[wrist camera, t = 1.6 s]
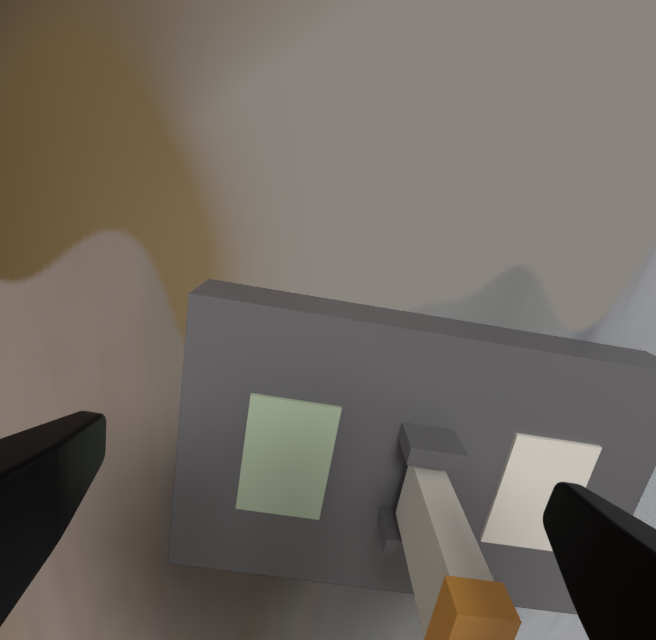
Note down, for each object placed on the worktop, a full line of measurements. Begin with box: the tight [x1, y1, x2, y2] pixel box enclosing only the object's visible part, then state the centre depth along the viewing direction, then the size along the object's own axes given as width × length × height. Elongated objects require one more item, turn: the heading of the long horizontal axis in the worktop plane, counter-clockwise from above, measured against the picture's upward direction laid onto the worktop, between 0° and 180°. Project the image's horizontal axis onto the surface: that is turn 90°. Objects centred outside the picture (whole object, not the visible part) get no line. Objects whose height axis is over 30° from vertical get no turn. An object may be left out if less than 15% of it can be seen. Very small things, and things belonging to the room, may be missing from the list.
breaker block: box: [168, 279, 656, 615], centre depth 20 cm, size 14×22×5 cm, turn 80°
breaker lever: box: [396, 465, 521, 640], centre depth 15 cm, size 3×2×8 cm, turn 170°
